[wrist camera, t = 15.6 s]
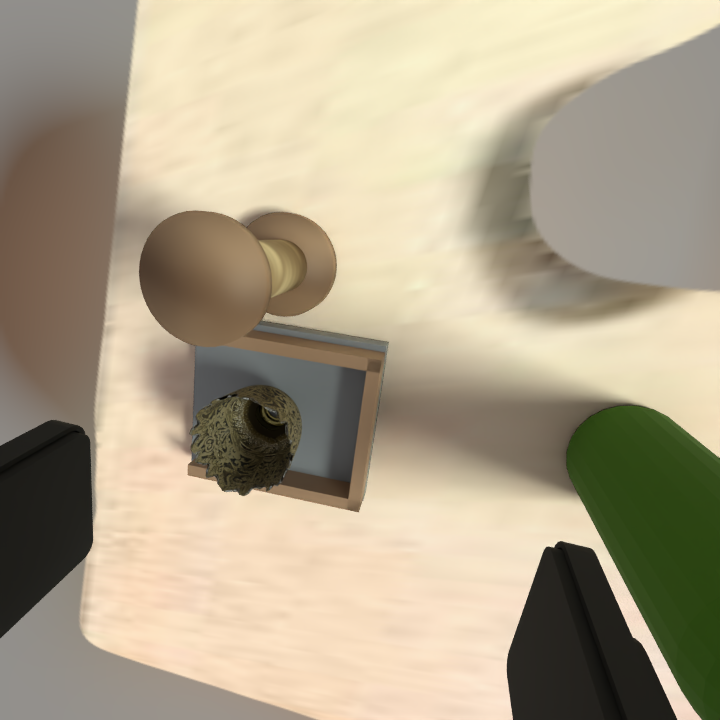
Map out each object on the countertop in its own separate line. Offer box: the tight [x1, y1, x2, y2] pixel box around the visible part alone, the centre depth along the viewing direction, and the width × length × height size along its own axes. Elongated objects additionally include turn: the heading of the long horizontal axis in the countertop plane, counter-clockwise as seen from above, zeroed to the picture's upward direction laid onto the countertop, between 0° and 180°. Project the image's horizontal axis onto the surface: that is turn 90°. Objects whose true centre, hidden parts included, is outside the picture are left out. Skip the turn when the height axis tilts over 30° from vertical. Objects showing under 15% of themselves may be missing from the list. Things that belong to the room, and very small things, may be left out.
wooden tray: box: [188, 321, 388, 512], centre depth 39 cm, size 14×16×4 cm
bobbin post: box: [139, 211, 337, 347], centre depth 31 cm, size 8×8×14 cm
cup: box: [190, 385, 302, 496], centre depth 36 cm, size 8×7×8 cm
